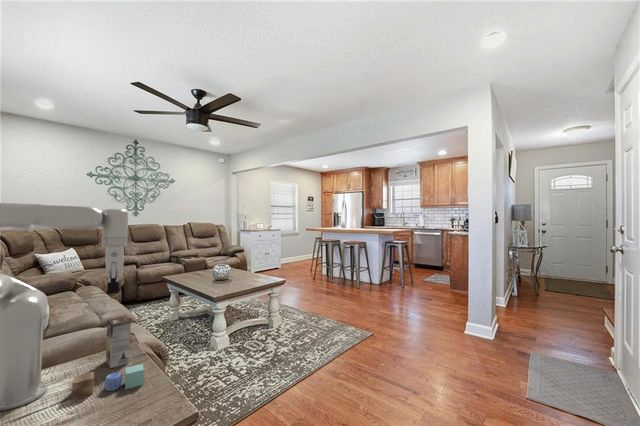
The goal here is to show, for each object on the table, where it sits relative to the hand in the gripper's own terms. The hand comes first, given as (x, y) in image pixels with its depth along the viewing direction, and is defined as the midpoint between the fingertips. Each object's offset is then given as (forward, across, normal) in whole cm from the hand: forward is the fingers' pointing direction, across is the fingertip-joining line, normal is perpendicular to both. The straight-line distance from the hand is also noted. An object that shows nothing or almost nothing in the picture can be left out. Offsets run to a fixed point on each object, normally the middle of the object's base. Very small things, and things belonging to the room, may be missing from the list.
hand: (112, 292), depth 102 cm
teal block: (+29, -12, -7) cm, 32 cm away
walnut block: (+29, -9, +7) cm, 31 cm away
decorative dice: (+29, -10, -1) cm, 31 cm away
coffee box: (+29, +10, -2) cm, 31 cm away
